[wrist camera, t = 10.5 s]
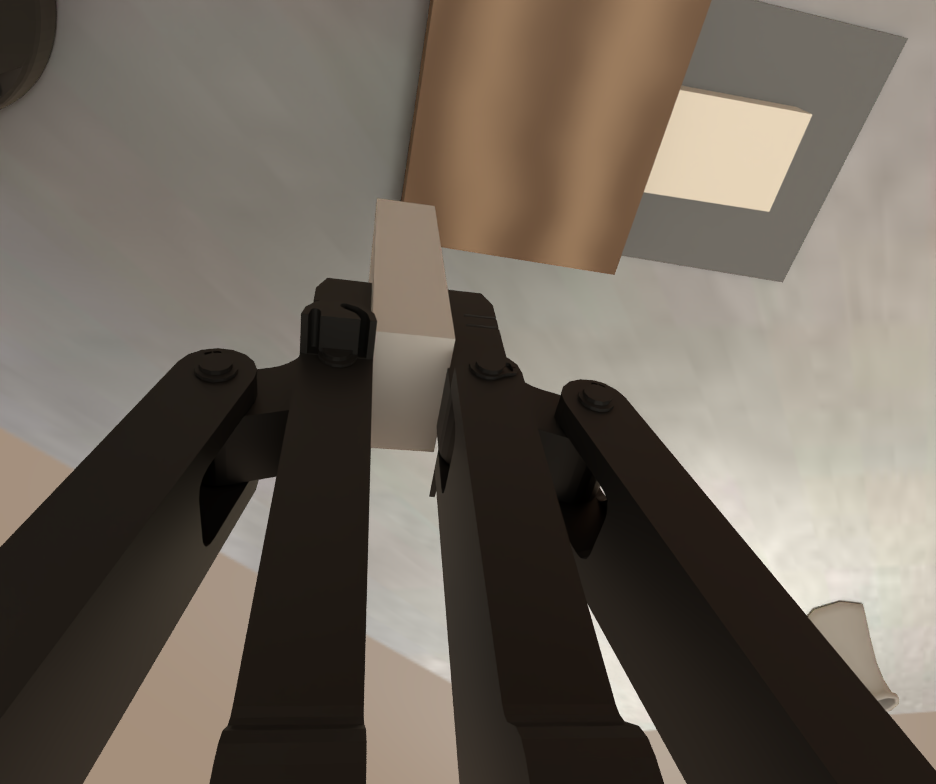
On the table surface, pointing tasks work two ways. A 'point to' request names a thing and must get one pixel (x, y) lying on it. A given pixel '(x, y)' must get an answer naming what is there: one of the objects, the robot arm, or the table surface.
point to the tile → (726, 149)
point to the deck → (545, 121)
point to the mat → (784, 82)
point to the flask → (854, 646)
